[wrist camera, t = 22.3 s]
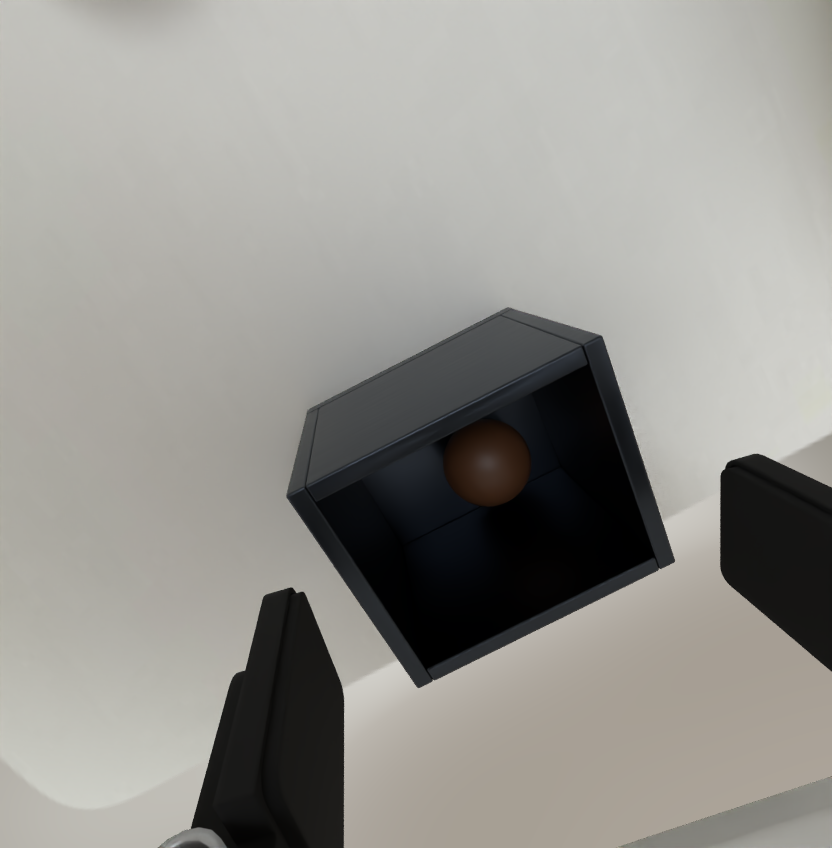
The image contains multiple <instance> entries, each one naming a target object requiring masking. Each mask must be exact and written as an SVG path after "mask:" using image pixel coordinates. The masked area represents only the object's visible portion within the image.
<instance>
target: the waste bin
mask: <svg viewBox="0 0 832 848" xmlns="http://www.w3.org/2000/svg"><path fill="white" fill-rule="evenodd" d="M479 419H494V420H498V421H501V422H504V423H506V424H508V425H510V426H512V427H513V428H514V429H515V430H517V431H518V432H519V433H520V434H521V436H522V437H523V438H524V440H525V441H526V443H527V446H528V448H529V451H530V455H531V472H530V476H529V479H528V481H527V483H526V485H525V487H524V488H523V489H522V491H521V492H520V493H519V494H518V495H517V496H516V497H515V498H513V499H512V500H510V501H508V502H506V503H504V504H501V505H497V506H490V507H486V506H478V505H474V504H472V503H469V502H467V501H465V500H463V499H462V498H461V497H459V496H458V495H457V494H456V493H455V492H454V491H453V490H452V488H451V487H450V485H449V484H448V482H447V479H446V477H445V474H444V469H443V455H444V451H445V448H446V445H447V443H448V441H449V439H450V438H451V436H452V435H453V434H454V433H455V432H456V431H457V430H459V429H461V428H463V427H465V426H467V425H469V424H471V423H473V422H475V421H477V420H479ZM286 496H287V498H288V500H289V501H290V503H291V504H292V506H293V507H294V509H295V510H296V512H297V513H298V515H299V516H300V517H301V519H302V520H303V522H304V523H305V525H306V526H307V528H308V529H309V531H310V532H311V533H312V535H313V536H314V538H315V539H316V541H317V542H318V544H319V545H320V547H321V548H322V549H323V551H324V552H325V554H326V555H327V557H328V558H329V560H330V561H331V563H332V564H333V566H334V567H335V568H336V570H337V571H338V573H339V574H340V576H341V577H342V579H343V580H344V582H345V583H346V584H347V586H348V587H349V589H350V590H351V592H352V593H353V595H354V596H355V598H356V599H357V600H358V602H359V603H360V605H361V606H362V608H363V609H364V611H365V612H366V614H367V615H368V617H369V618H370V619H371V621H372V622H373V624H374V625H375V627H376V628H377V630H378V631H379V633H380V634H381V635H382V637H383V638H384V640H385V641H386V643H387V644H388V646H389V647H390V649H391V650H392V651H393V653H394V654H395V656H396V657H397V659H398V660H399V662H400V663H401V664H402V666H403V667H404V669H405V670H406V672H407V673H408V675H409V676H410V678H411V679H412V680H413V682H414V684H415V685H416V686H417V687H418V688H420V687H422V686H424V685H426V684H428V683H430V682H432V681H433V680H437V679H439V678H441V677H443V676H445V675H447V674H449V673H451V672H453V671H455V670H457V669H459V668H461V667H463V666H465V665H467V664H469V663H471V662H473V661H475V660H477V659H479V658H481V657H483V656H485V655H487V654H489V653H491V652H493V651H495V650H498V649H500V648H502V647H504V646H506V645H508V644H510V643H512V642H514V641H516V640H518V639H520V638H522V637H524V636H526V635H528V634H530V633H532V632H534V631H536V630H538V629H540V628H542V627H544V626H546V625H548V624H550V623H552V622H554V621H556V620H558V619H561V618H563V617H564V616H567V615H569V614H571V613H573V612H575V611H577V610H579V609H581V608H583V607H585V606H587V605H589V604H591V603H593V602H595V601H597V600H599V599H601V598H603V597H605V596H607V595H609V594H611V593H613V592H615V591H617V590H619V589H621V588H623V587H626V586H627V585H629V584H632V583H634V582H635V581H637V580H640V579H642V578H644V577H646V576H648V575H650V574H652V573H654V572H656V571H658V570H659V568H660V569H662V568H664V567H666V566H668V565H670V564H672V563H674V562H675V559H674V556H673V553H672V550H671V547H670V544H669V540H668V537H667V534H666V531H665V528H664V525H663V522H662V519H661V516H660V513H659V510H658V506H657V503H656V500H655V497H654V494H653V491H652V488H651V485H650V482H649V479H648V476H647V472H646V469H645V466H644V463H643V460H642V457H641V454H640V451H639V448H638V445H637V442H636V439H635V435H634V432H633V429H632V426H631V423H630V420H629V417H628V414H627V411H626V408H625V405H624V402H623V398H622V395H621V392H620V389H619V386H618V383H617V380H616V377H615V374H614V371H613V368H612V364H611V361H610V358H609V355H608V352H607V349H606V346H605V343H604V340H603V337H602V336H601V335H598V334H595V333H591V332H588V331H585V330H581V329H578V328H575V327H571V326H568V325H565V324H561V323H558V322H555V321H551V320H548V319H545V318H541V317H538V316H535V315H531V314H528V313H525V312H521V311H518V310H515V309H512V308H506V309H504V310H502V311H500V312H498V313H496V314H494V315H492V316H490V317H488V318H486V319H484V320H482V321H480V322H478V323H476V324H474V325H473V326H471V327H469V328H467V329H465V330H463V331H461V332H459V333H457V334H455V335H453V336H451V337H449V338H447V339H445V340H443V341H441V342H439V343H437V344H436V345H434V346H432V347H430V348H428V349H426V350H424V351H422V352H420V353H418V354H416V355H414V356H412V357H410V358H408V359H406V360H404V361H402V362H400V363H398V364H397V365H395V366H393V367H391V368H389V369H387V370H385V371H383V372H381V373H379V374H377V375H375V376H373V377H371V378H369V379H367V380H365V381H363V382H361V383H360V384H358V385H356V386H354V387H352V388H350V389H348V390H346V391H344V392H342V393H340V394H338V395H336V396H334V397H332V398H330V399H328V400H326V401H324V402H322V403H321V404H319V405H317V406H315V407H313V408H311V409H309V410H308V411H307V415H306V419H305V423H304V427H303V431H302V435H301V439H300V443H299V447H298V451H297V455H296V459H295V463H294V467H293V471H292V475H291V479H290V483H289V487H288V491H287V495H286Z"/></svg>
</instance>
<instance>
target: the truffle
mask: <svg viewBox="0 0 832 848" xmlns="http://www.w3.org/2000/svg"><path fill="white" fill-rule="evenodd" d="M443 469H444V474H445V477H446V479H447V482H448V484H449V485H450V487H451V488H452V490H453V491H454V492H455V493H456V494H457V495H458V496H459V497H461V498H462V499H463V500H465V501H467V502H469V503H472V504H474V505H478V506H486V507H490V506H497V505H501V504H504V503H506V502H508V501H510V500H512V499H513V498H515V497H516V496H517V495H518V494H519V493H520V492H521V491H522V489H523V488H524V487H525V485H526V483H527V481H528V479H529V476H530V472H531V455H530V451H529V448H528V446H527V443H526V441H525V440H524V438H523V437H522V436H521V434H520V433H519V432H518V431H517V430H515V429H514V428H513V427H512V426H510V425H508V424H506V423H504V422H501V421H498V420H494V419H479V420H477V421H475V422H473V423H471V424H469V425H467V426H465V427H463V428H461V429H459V430H457V431H456V432H455V433H454V434H453V435H452V436H451V438H450V439H449V441H448V443H447V445H446V448H445V451H444V455H443Z"/></svg>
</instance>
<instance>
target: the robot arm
mask: <svg viewBox="0 0 832 848" xmlns="http://www.w3.org/2000/svg"><path fill="white" fill-rule="evenodd" d="M720 500H721V501H720V502H721V503H720V504H721V507H720V510H721V514H720V516H721V519H720V523H721V524H720V527H721V528H720V531H721V533H720V536H721V538H720V543H721V544H720V545H721V547H720V554H721V556H720V567H721V572H722V575H723V577H724V579H725V580H726V581H727V583H728V584H729V585H730V586H731V587H733V588H734V589H735V590H736V591H737V592H739V593H740V594H741V595H742V596H743V597H744V598H746V599H747V600H748V601H749V602H750V603H751V604H753V605H754V606H755V607H756V608H757V609H759V610H760V611H761V612H762V613H763V614H765V615H766V616H767V617H768V618H769V619H770V620H772V621H773V622H774V623H775V624H776V625H777V626H779V627H780V628H781V629H782V630H783V631H785V632H786V633H787V634H788V635H789V636H790V637H792V638H793V639H794V640H795V641H796V642H798V643H799V644H800V645H801V646H802V647H803V648H804V649H806V650H807V651H808V652H809V653H810V654H812V655H813V656H814V657H815V658H816V659H818V660H819V661H820V662H821V663H822V664H823V665H825V666H826V667H827V668H828V669H829V670H831V671H832V488H831V487H829V486H827V485H825V484H822V483H820V482H818V481H816V480H814V479H812V478H810V477H807V476H806V475H804V474H802V473H799V472H797V471H795V470H793V469H791V468H789V467H787V466H785V465H782V464H780V463H778V462H776V461H774V460H772V459H770V458H768V457H765V456H763V455H760V454H752V455H749V456H745V457H742V458H738V459H735V460H731V461H730V462H728V463H727V465H726V467H725V470H723V471H722V473H721V498H720ZM158 848H344V695H343V689H342V685H341V682H340V679H339V677H338V674H337V672H336V669H335V667H334V664H333V662H332V659H331V657H330V654H329V652H328V649H327V647H326V644H325V642H324V639H323V637H322V634H321V632H320V629H319V627H318V624H317V622H316V619H315V617H314V614H313V612H312V609H311V607H310V604H309V602H308V599H307V597H306V595H305V593H304V592H299V593H296V592H295V590H294V589H293V588H287V589H284V590H280V591H277V592H273V593H270V594H266V595H265V596H264V597H263V600H262V604H261V608H260V612H259V616H258V621H257V625H256V629H255V633H254V637H253V641H252V645H251V649H250V653H249V658H248V662H247V666H246V670H245V671H242V672H239V673H236V674H235V675H234V677H233V678H232V681H231V683H230V686H229V690H228V693H227V697H226V701H225V704H224V708H223V712H222V715H221V719H220V723H219V727H218V730H217V734H216V738H215V741H214V745H213V749H212V752H211V756H210V760H209V763H208V768H207V771H206V774H205V778H204V782H203V786H202V789H201V793H200V797H199V801H198V804H197V808H196V812H195V815H194V819H193V822H192V826H191V829H189V830H185V831H182V832H181V833H179V834H177V835H175V836H173V837H171V838H169V839H167V840H166V841H165V842H164V843H163V844H161V845H160V846H159V847H158ZM617 848H832V776H831V777H828V778H825V779H822V780H819V781H816V782H813V783H810V784H807V785H804V786H801V787H798V788H795V789H792V790H789V791H786V792H783V793H780V794H776V795H773V796H770V797H767V798H764V799H761V800H758V801H755V802H752V803H749V804H746V805H743V806H740V807H737V808H734V809H731V810H728V811H725V812H722V813H719V814H716V815H713V816H710V817H707V818H704V819H701V820H698V821H695V822H692V823H689V824H686V825H683V826H680V827H677V828H673V829H671V830H668V831H664V832H662V833H659V834H656V835H652V836H650V837H646V838H644V839H640V840H637V841H635V842H632V843H629V844H626V845H623V846H620V847H617Z"/></svg>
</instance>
